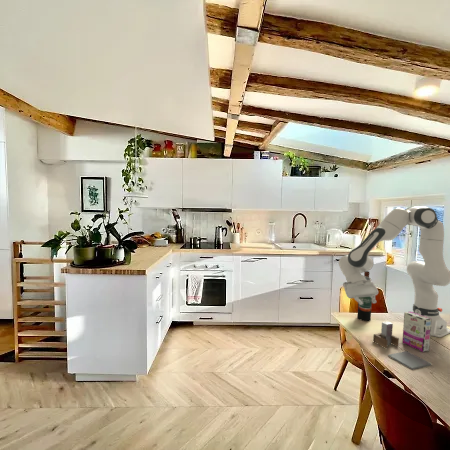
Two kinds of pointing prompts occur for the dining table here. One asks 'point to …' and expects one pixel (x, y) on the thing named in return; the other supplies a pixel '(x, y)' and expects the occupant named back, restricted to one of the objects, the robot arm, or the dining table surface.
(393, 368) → the dining table surface
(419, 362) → the coaster
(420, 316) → the candy bar box
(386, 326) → the gray rectangular block
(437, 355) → the dining table surface
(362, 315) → the wine bottle
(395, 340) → the holder
